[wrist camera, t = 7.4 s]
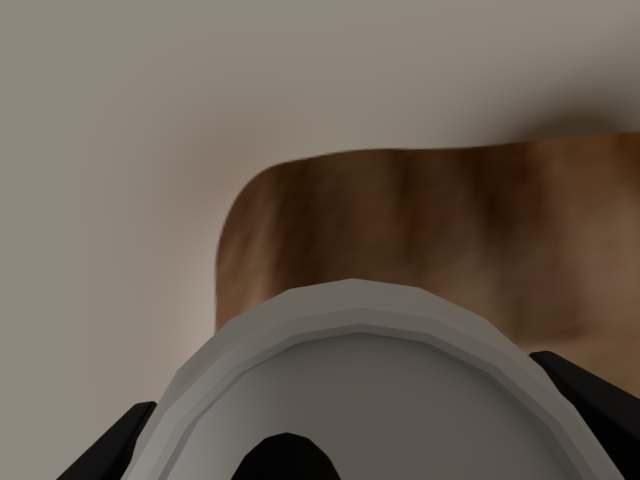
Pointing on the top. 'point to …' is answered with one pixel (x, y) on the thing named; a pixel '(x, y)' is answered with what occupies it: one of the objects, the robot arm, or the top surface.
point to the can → (364, 397)
